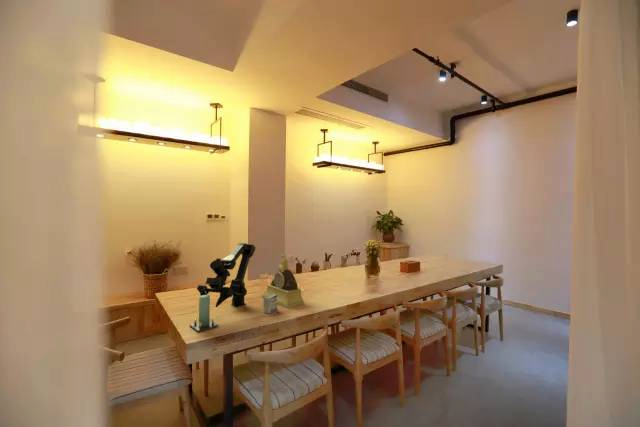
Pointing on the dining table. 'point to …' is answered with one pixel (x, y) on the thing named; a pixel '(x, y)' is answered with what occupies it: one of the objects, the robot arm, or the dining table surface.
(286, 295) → the decorative clock
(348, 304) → the dining table surface
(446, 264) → the dining table surface
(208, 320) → the teal wooden post
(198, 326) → the plate
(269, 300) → the medicine box
